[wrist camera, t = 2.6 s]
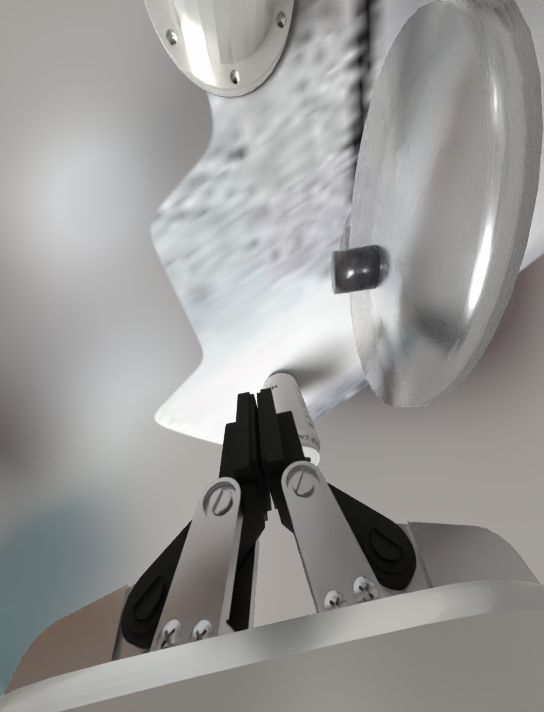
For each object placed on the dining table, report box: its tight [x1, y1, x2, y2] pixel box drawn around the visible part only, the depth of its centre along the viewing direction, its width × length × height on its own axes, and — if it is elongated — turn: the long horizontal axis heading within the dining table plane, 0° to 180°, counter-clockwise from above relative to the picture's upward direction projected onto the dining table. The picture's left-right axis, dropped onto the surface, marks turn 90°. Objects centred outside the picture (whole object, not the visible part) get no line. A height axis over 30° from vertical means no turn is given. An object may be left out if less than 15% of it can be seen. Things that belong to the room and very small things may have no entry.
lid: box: [332, 0, 543, 407], centre depth 13 cm, size 17×18×4 cm
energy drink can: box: [263, 373, 320, 466], centre depth 29 cm, size 6×6×15 cm
